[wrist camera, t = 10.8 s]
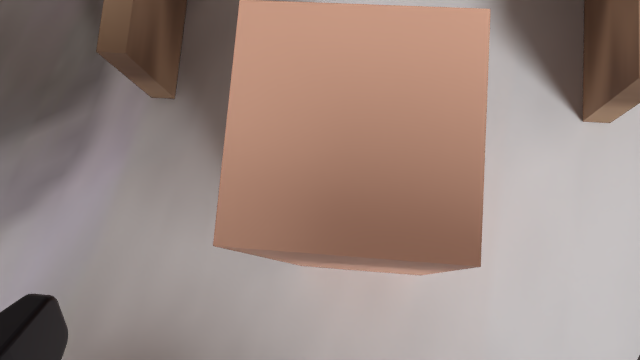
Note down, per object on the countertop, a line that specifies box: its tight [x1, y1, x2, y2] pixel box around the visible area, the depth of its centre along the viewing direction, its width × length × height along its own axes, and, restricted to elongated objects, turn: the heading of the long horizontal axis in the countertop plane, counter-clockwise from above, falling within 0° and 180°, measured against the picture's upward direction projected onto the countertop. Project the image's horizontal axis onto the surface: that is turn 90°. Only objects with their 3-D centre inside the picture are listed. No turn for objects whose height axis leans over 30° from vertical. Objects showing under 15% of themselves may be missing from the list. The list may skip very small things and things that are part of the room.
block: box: [213, 0, 490, 275], centre depth 17 cm, size 4×4×13 cm
